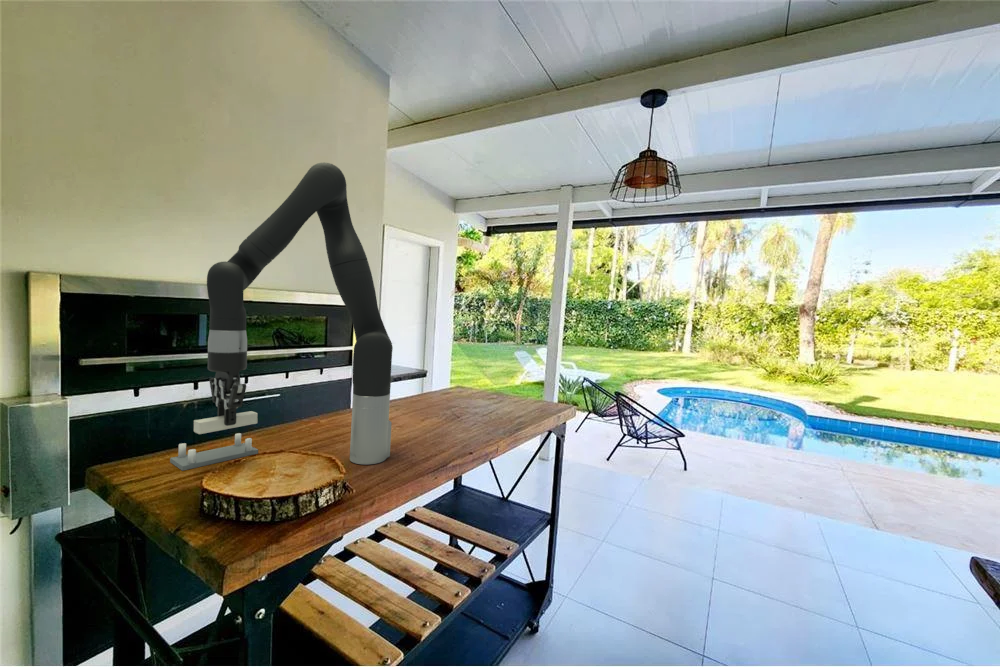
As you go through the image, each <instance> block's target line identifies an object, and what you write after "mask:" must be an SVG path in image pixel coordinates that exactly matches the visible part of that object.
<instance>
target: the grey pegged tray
mask: <svg viewBox="0 0 1000 667" xmlns="http://www.w3.org/2000/svg"><path fill="white" fill-rule="evenodd" d="M252 441H253V439H252V437H247V438H245V440H244V442H243V443H242V433H240V432H238V433H235V434H234V444H231V445H228V446H223V447H217V448H212V449H209V450H203V451H199V452H197V450H196V448H191V449H188V450H187V443H185V442H184V443H182V442H181V443H179V444H178V454H177V455H178V456H174V457H173V456H172V457H170V458H169V463H170V464H172V465H174V466H175V467H176V468H178V469H179V470H181V471H182V472H183V471H186V470H187V471H188V470H191V469H196V468H199V467H205V466H209V465H213V464H218V463H222V462H226V461H227V462H228V461H231V460H235V459H239V458H244V457H249V456H252V455H253V456H254V455H257V454H259V448H256V447H255V446H254V447H253V446H252V443H253V442H252Z"/></svg>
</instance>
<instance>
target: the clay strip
mask: <svg viewBox="0 0 1000 667" xmlns="http://www.w3.org/2000/svg"><path fill="white" fill-rule="evenodd" d="M217 416H218V415H217ZM217 416H214V417H213V416H212V417H207V418H202V419H201V418H200V419H194V420H193V432H194V433H195V434H198V435H202V434H203V435H204V434H207V433H213V432H219V431H224V430H228V429H234V428H239V427H245V426H250V425H256V424H258V412H256V411H252V410H251V411H250V410H249V411H244V412H236V424H234V425H229V426H226V425H225V424H224V416H218V417H217Z"/></svg>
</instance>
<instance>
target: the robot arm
mask: <svg viewBox="0 0 1000 667" xmlns="http://www.w3.org/2000/svg"><path fill="white" fill-rule="evenodd" d="M347 194H348V193H347V181H346V177H345V175H344V173H343V172H342V170H341V169H340V168H339V167H338V166H337V165H334V164H333V163H330V162H319V163H316V164H313V165H312V166H310V168H309V169H308V170H307V172H306V173H305V174H304V175H303V177H302V178H301V180H300V181H299V183H298V184H297V185H296V187H295V188H294V189H293V190H292V192H291V193H290V194H289V195H288V197H286V198H285V200H284V201H283V202H282V203H281V204H280V205H279V206H278V208H276V210H275V211H273V213H272V214H271V215H270V216H269V217H267V218H266V219H265V220H264V221H263V222H262V223H261V224H260V225H259V226H258V227H256V229H254V230H253V231H252V232H251V233H250V234H249V235H248V236H247V237H246V238H244V240H243V241H242V242H241V243H240V244H239V246H238V250H237V251H236V252H235V253H234V254H233V255H232V256H231V257H230V258H229V259H228V260H227V261H219V262H216V263H214V264H212V265H211V267H210V268H209V269H208V271H207V273H206V274H207V276H206V287H207V288H206V290H207V296H208V297H207V298H208V303H209V309H210V312H209V332H208V339H207V370H208V371H210V372H215V375H214V377H211V378H209V379H208V381H209V387H210V393H211V399H212V403H215V406H216V407H217V416H216V417H218V416H224V424H225V425H226V426H229V425H234V424H236V413H237V409H238V408H239V407H242V406H243V402H244V399H245V398H244V397H245V393H246V391H247V383H241V377H240V372H241V371H244V370H246V369H248V368H247V367H248V366H247V365H248V336H247V310H246V308H245V306H244V291H245V290H246V289H247V288H248V287H249V286H251V285H252V283H253V282H254V281H255V280H256V279H257V278H258V277H259V274H261V272H262V271H263V270H264V268H266V266H267V265H269V264H271V263H272V261H273V260H275V259H276V258H277V257H278V256H279V255H280V254H281V253H282V252H283V251H284V250H285V249H286V248H287V247H288V245H289V244H290V243H291V242H292V241H293V239H294V238H295V236H296V235H298V232H299V231H300V230H301V229H302V227H303V226H304V225H305V223H306V222H307V221H308V220H310V218H311V217H312V216H313V215H314V214H315V213H317V215H318V216H317V217H318V219H319V221H320V224H321V227H322V229H323V234H324V242H325V248H326V255H327V259H328V264H329V267H330V271H331V274H332V277H333V282H334V284H335V286H336V289H337V292H338V294H339V295H340V298H341V300H342V302H343V305H344V306H345V308H346V310H347V312H348V314H349V317H350V320H351V322H352V326H353V327H352V328H353V331H354V336H355V343H354V347H353V356H352V357H353V358H352V404H351V405H352V407H351V425H350V426H351V428H350V443H349V445H350V447H349V461H350V462H351V463H353V464H358V465H375V464H380V463H383V462H385V461H386V459H388V458H390V457H391V443H392V442H391V440H392V425H393V424H392V421H391V420H390V404H391V401H390V399H391V388H392V387H391V385H392V384H391V383H392V381H391V380H392V379H391V378H392V362H393V361H392V360H393V351H394V350H393V349H394V348H393V343H392V340H391V338H390V336H389V334H388V331H387V329H386V327H385V325H384V322H383V319H382V317H381V314H380V310H379V307H378V300H377V294H376V288H375V283H374V278H373V276H372V270H371V267H370V264H369V261H368V257H367V255H366V252H365V249H364V247H363V244H362V242H361V240H360V238H359V236H358V234H357V232H356V230H355V228H354V225H353V222H352V217H351V214H350V208H349V202H348V196H347Z"/></svg>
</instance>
